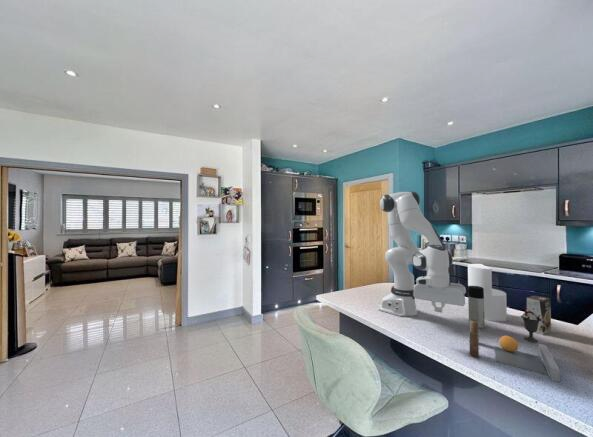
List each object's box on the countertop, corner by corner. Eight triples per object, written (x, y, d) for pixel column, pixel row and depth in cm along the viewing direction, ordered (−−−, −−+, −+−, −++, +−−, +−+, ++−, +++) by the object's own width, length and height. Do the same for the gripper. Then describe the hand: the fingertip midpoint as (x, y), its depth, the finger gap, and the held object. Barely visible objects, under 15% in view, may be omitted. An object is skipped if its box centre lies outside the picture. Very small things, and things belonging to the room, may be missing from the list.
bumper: (551, 379, 85) (551, 368, 85) (538, 353, 101) (538, 343, 101) (559, 381, 83) (559, 370, 83) (545, 355, 100) (545, 345, 100)
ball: (498, 332, 105) (514, 339, 100) (507, 333, 107) (523, 341, 101) (494, 345, 105) (509, 354, 100) (503, 347, 107) (519, 355, 101)
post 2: (469, 356, 99) (469, 334, 99) (469, 353, 102) (469, 331, 102) (478, 358, 98) (478, 336, 98) (478, 355, 100) (478, 333, 100)
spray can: (487, 328, 124) (486, 289, 124) (472, 327, 125) (471, 288, 125) (480, 323, 130) (479, 285, 131) (466, 322, 132) (465, 285, 132)
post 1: (470, 342, 110) (469, 322, 110) (470, 339, 113) (469, 320, 113) (478, 344, 109) (478, 324, 109) (478, 341, 111) (477, 321, 111)
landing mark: (496, 361, 96) (496, 361, 96) (494, 346, 107) (494, 346, 107) (547, 374, 87) (547, 374, 87) (538, 356, 99) (538, 356, 99)
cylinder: (473, 318, 136) (472, 268, 137) (465, 308, 152) (464, 263, 153) (512, 323, 130) (511, 270, 130) (499, 311, 146) (498, 264, 146)
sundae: (517, 337, 115) (516, 304, 115) (530, 336, 116) (529, 304, 116) (531, 344, 109) (531, 310, 109) (545, 343, 109) (545, 309, 109)
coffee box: (544, 335, 116) (543, 301, 116) (526, 330, 122) (525, 297, 122) (551, 331, 121) (551, 298, 121) (534, 326, 126) (534, 294, 126)
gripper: (465, 282, 108) (466, 314, 108) (415, 277, 120) (415, 305, 120) (465, 286, 103) (466, 319, 103) (412, 279, 115) (412, 309, 115)
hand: (438, 311), depth 112 cm, fingers closed
